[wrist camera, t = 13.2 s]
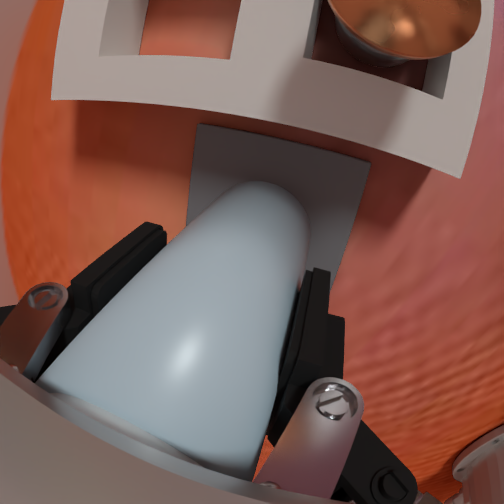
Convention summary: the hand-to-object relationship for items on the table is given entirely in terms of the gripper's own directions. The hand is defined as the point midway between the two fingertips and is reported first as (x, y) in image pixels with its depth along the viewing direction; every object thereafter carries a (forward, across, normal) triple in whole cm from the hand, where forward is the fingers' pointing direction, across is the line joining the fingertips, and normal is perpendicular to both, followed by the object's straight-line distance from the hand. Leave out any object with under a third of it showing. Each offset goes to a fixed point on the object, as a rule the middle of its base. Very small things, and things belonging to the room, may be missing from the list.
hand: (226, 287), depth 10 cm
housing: (+6, +2, -10) cm, 12 cm away
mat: (+6, 0, 0) cm, 6 cm away
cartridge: (+5, 0, 0) cm, 5 cm away
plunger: (+6, -3, -10) cm, 12 cm away
